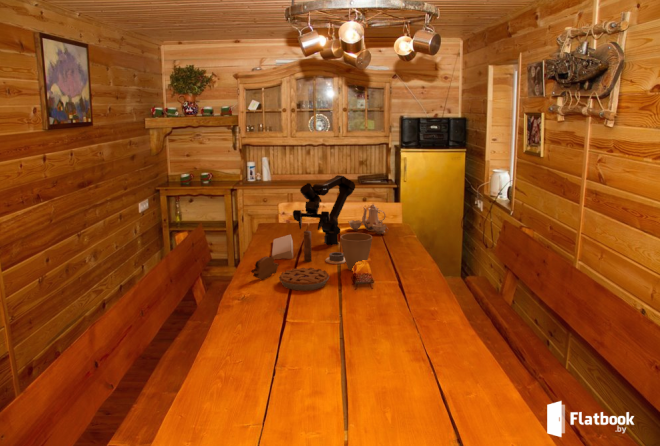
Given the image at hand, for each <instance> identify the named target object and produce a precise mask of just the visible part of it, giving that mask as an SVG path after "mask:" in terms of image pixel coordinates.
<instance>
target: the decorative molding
mask: <svg viewBox="0 0 660 446" xmlns="http://www.w3.org/2000/svg"><path fill="white" fill-rule="evenodd" d="M271 257H274V260H281V259H283V260H284V259H287V260H291V259H294V241H293V238H292V234H290V233H289V234H288V235H284V236H280V237H277V238H273V242H272V251H271Z"/></svg>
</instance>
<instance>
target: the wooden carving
mask: <svg viewBox="0 0 660 446" xmlns="http://www.w3.org/2000/svg"><path fill="white" fill-rule="evenodd" d="M254 266H255V267H254V269H252V270H250V271H251V273H253V275H252V276H253V277H255V278H257V279H259V280H266V279H268V278H270V277H271V276H272V275H273V274H274V275H275V274H276V273H277V271H278V268H279V263H278V262H275V259H274V257H272V255H271V256H263V257H261V258H260V259H258V260H257V261H256V262H255V264H254Z"/></svg>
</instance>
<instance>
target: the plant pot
mask: <svg viewBox="0 0 660 446" xmlns="http://www.w3.org/2000/svg"><path fill="white" fill-rule="evenodd" d="M339 238H340V244H341V249H342V253H343V254H344V258H345V261H346V263H345V264H346V266H347V269H348V271H350V270H352V268H353V266H354V265H355V263H356V262H358V261H362V260H367V261H368V259H369V256H370V253H371V248H372V242H373V236H372V235H371V234H367V233H364V232H363V233H362V232H348V233H345V234H342V235H340V237H339Z"/></svg>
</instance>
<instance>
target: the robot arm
mask: <svg viewBox="0 0 660 446" xmlns="http://www.w3.org/2000/svg"><path fill="white" fill-rule="evenodd" d="M335 187H338V192H339V193H338V196H337V198H336V200H335V202H334V204H333V206H332V207H331V210H330V212H329V211H328V210H327V211H323V210H322V211H321V213H319V208H320V203H321V202H322V201H323V200H322V199H321V197H320V196H326V195H327V194H329V191H330V190H331V189H333V188H335ZM355 189H356V184H355V182H354V181H352V180H351V179H348V178H347V177H346V176H344V175H340V174H338V175H335V176H333V177H332V178H331V179H328V180H326V181H324V182H319V183H315V184H314V185H312V184H311V183H310V182H307V183H306V184H304V185H303V186H301V187H300V190H299V192H300V193H301V194H302V196H303V197H304V198H305V199H306V200H308V201H305V206H304V207H305V212H302V210H301V209H299V210H298V209H294V210H293V211H292V217H293V219H294V220H295V221H296V222H298V226H299V230H302V224H303V218H310V219H315V218H316V219H318V220H319V221H318V225H317V231H320V229H321V231H322V233H323V234H324V238H323V239H324V242H323V243H324V244H325V245H327V246H335V245H340V243H339V240H338V239H339V237H338V235H340V234H341V228H340V227H339V219H338V218H339V216H340V214H341V211H342V210H343V207H344V205H345V203H346V201H347V198H349V196H350V195H352V194H353V192H354V191H355Z"/></svg>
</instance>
